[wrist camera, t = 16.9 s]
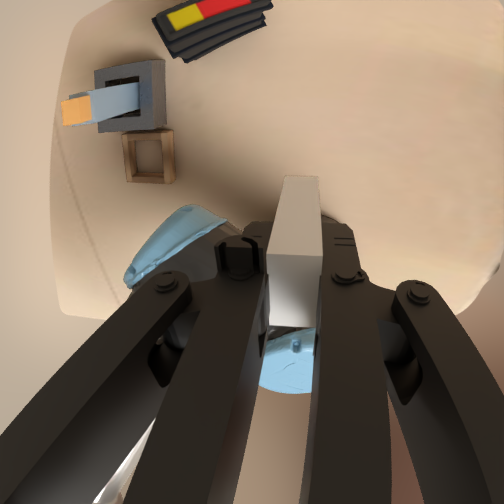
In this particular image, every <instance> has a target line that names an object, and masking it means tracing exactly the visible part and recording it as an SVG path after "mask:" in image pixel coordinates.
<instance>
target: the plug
mask: <svg viewBox="0 0 504 504" xmlns="http://www.w3.org/2000/svg"><path fill="white" fill-rule="evenodd" d="M61 107H62V117H63V126H67V125H72V126H77V125H84V124H92V123H97V122H100V121H103V120H105V119H108V118H111V117H114V116H117V115H120V114H123V113H127V112H130V111H133V110H136V109H140V86H139V82H136V83H129V84H123V85H117V86H111V87H106V88H100V89H96V90H91V91H86V92H82V93H78V94H73V95H69V100H66V101H62V102H61Z"/></svg>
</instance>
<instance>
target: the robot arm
mask: <svg viewBox="0 0 504 504" xmlns="http://www.w3.org/2000/svg"><path fill="white" fill-rule="evenodd" d="M123 280H124V282H125V284H126V285H127V288H129V289H132V292H131V294H130V295H129V297H128V299H127V301H126V302H125V303H124V304H123V305H122V306H121V307H120V308H119V309H118V310H117V311H115V312H114V313H113V314H112V315H111V316H110V317H109V318H108V319H107V320H106V321H105V322H104V324H102V325H101V326H100V327H99V328H98V329H97V330H96V331H95V333H94V334H92V335H91V336H90V338H89V339H88V340H87V341H86V342H85V343H84V344H83V345H82V346H81V347H80V348H79V349H78V350H77V351H76V352H75V353H74V354H73V355H72V356H71V357H70V358H69V359H68V360H67V361H66V362H65V363H64V365H63V366H62V367H61V368H60V369H59V370H58V371H57V372H56V373H55V374H54V375H53V376H52V377H51V378H50V380H49V381H48V382H47V383H46V384H45V385H44V386H43V387H42V389H40V390H39V392H38V393H37V394H36V395H35V396H34V397H33V398H32V399H31V401H30V402H29V403H28V404H27V405H26V406H25V407H24V408H23V410H22V411H21V412H20V413H19V415H17V417H16V418H15V419H14V420H13V421H12V422H11V424H10V425H9V426H8V427H7V428H6V430H5V431H4V432H3V433H2V434H1V436H0V504H233V501H234V497H235V492H236V488H237V484H238V479H239V475H240V471H241V466H242V462H243V457H244V453H245V448H246V444H247V439H248V434H249V429H250V424H251V420H252V415H253V410H254V406H255V400H256V396H257V390H258V386H259V385H260V386H261V387H264V388H266V389H269V390H272V391H276V392H281V393H291V394H292V393H293V394H294V393H295V394H298V393H309V392H311V403H310V415H309V426H308V436H307V445H306V455H305V463H304V471H303V478H302V485H301V493H300V499H299V504H391V487H392V484H391V483H392V480H391V478H392V477H391V476H392V474H391V473H392V472H391V439H390V424H389V423H390V422H389V409H388V398H387V391H388V394H389V397H390V399H391V402H392V405H393V407H394V410H395V413H396V415H397V418H398V421H399V424H400V427H401V430H402V433H403V435H404V438H405V441H406V444H407V447H408V450H409V453H410V456H411V459H412V463H413V466H414V469H415V472H416V476H417V479H418V482H419V486H420V489H421V493H422V496H423V500H424V503H425V504H504V395H503V393H502V391H501V390H500V388H499V386H498V384H497V382H496V380H495V379H494V377H493V375H492V373H491V372H490V370H489V368H488V367H487V365H486V363H485V361H484V360H483V358H482V357H481V355H480V353H479V352H478V350H477V348H476V347H475V345H474V344H473V342H472V340H471V339H470V337H469V336H468V334H467V333H466V331H465V330H464V328H463V327H462V325H461V324H460V322H459V321H458V319H457V318H456V317H455V315H454V314H453V312H452V311H451V309H450V308H449V307H448V305H447V304H446V302H445V301H444V300H443V298H442V297H441V295H440V294H439V293H438V292H437V291H436V290H435V289H434V288H433V287H432V286H431V285H429V284H427V283H425V282H422V281H418V280H407V281H404V282H401V283H400V284H399V285H398V286H397V289H396V291H394V290H390V289H386V288H382V287H380V286H377V285H375V284H373V283H371V282H370V281H369V277H368V275H367V274H366V272H365V271H364V270H362V269H361V266H360V261H359V257H358V252H357V247H356V243H355V240H354V234H353V230H352V229H350V228H349V227H348V226H347V225H346V224H340V223H338V222H336V221H335V220H333V219H331V218H328V217H325V216H321V212H320V197H319V184H318V176H285V179H284V183H283V187H282V191H281V196H280V200H279V204H278V208H277V212H276V216H275V220H274V222H252V223H250V224H249V225H248V226H246V227H245V228H244V231H243V232H242V231H240V230H239V229H237V228H236V227H234V226H233V225H231V224H230V223H228V220H227V219H226V218H220V217H218V216H217V215H215V214H213V213H212V212H210V211H208V210H206V209H205V208H203V207H201V206H199V205H195V204H190V205H186V206H183V207H181V208H180V209H178V210H177V211H175V212H174V213H173V214H172V215H171V216H170V217H168V218H167V219H166V220H165V221H164V222H163V223H162V224H161V225H160V226H159V227H158V229H157V230H156V231H155V232H154V233H153V234H152V235H151V236H150V238H149V239H148V240H147V241H146V243H145V244H144V245H143V246H142V248H141V249H140V250H139V252H138V253H137V254H136V256H135V257H134V259H133V261H132V263H131V265H130V266H129V268H128V269H127V270H126V272H125V275H124V279H123ZM138 461H139V462H138ZM137 463H138V464H137ZM136 464H137V467H136V470H135V472H134V475H133V477H132V480H131V483H130V485H129V488H128V490H127V493H126V496H125V498H124V501H123V497H122V494H121V492H120V490H121V488H122V487H123V486H124V484H125V482H126V481H127V479H128V478H129V476H130V474H131V473H132V471H133V469H134V468H135V466H136Z"/></svg>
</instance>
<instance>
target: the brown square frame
mask: <svg viewBox="0 0 504 504" xmlns="http://www.w3.org/2000/svg"><path fill="white" fill-rule="evenodd" d="M134 140H161V142H162V156H163V169H164V173H143V172H137V163H136V153H135V143H134ZM122 144H123V153H124V162H125V170H126V177H127V182H135V183H159V184H171V183H173V182H174V181H175V180H176V174H175V159H174V142H173V130H161V131H136V132H127V133H125V134H122Z"/></svg>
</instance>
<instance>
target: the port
mask: <svg viewBox="0 0 504 504" xmlns="http://www.w3.org/2000/svg"><path fill="white" fill-rule="evenodd" d="M135 76H139V86H140V109H141V113H133V114H120V115H117V116H114V117H111V118H108V119H105V120H103V121H100V122H98V131H99V133H104V132H116V131H130V130H150V129H156V128H158V127H161V126H163V125H165V124H167V121H166V92H165V60H148V61H141V62H135V63H130V64H124V65H119V66H114V67H109V68H105V69H100V70H96V71H94V77H95V90H96V89H100V88H106V87H111V86H117V85H120V79H123V78H129V77H135Z"/></svg>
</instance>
